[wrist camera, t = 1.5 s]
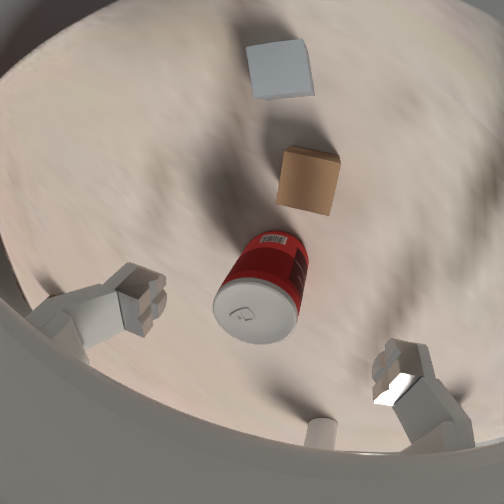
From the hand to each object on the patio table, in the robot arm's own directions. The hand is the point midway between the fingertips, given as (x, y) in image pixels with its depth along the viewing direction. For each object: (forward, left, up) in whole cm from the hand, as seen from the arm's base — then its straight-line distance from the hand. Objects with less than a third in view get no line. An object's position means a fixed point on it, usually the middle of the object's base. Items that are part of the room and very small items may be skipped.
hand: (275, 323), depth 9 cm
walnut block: (+1, 0, -22) cm, 22 cm away
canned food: (+3, +11, -22) cm, 25 cm away
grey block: (+5, -10, -22) cm, 25 cm away
